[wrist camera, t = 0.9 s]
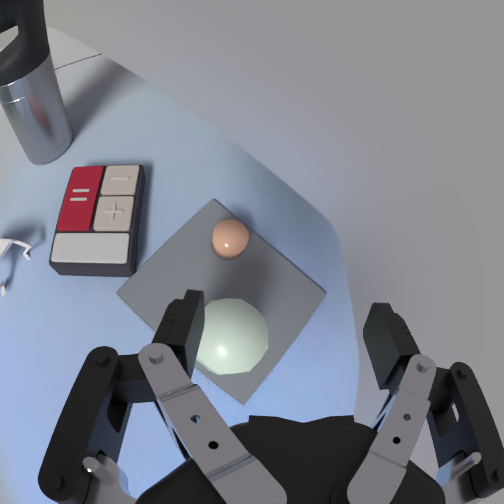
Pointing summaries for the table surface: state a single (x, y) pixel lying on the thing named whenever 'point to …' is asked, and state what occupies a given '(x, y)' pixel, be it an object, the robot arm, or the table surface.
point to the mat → (226, 290)
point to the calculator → (99, 222)
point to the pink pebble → (229, 239)
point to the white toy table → (3, 245)
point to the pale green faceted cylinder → (232, 337)
